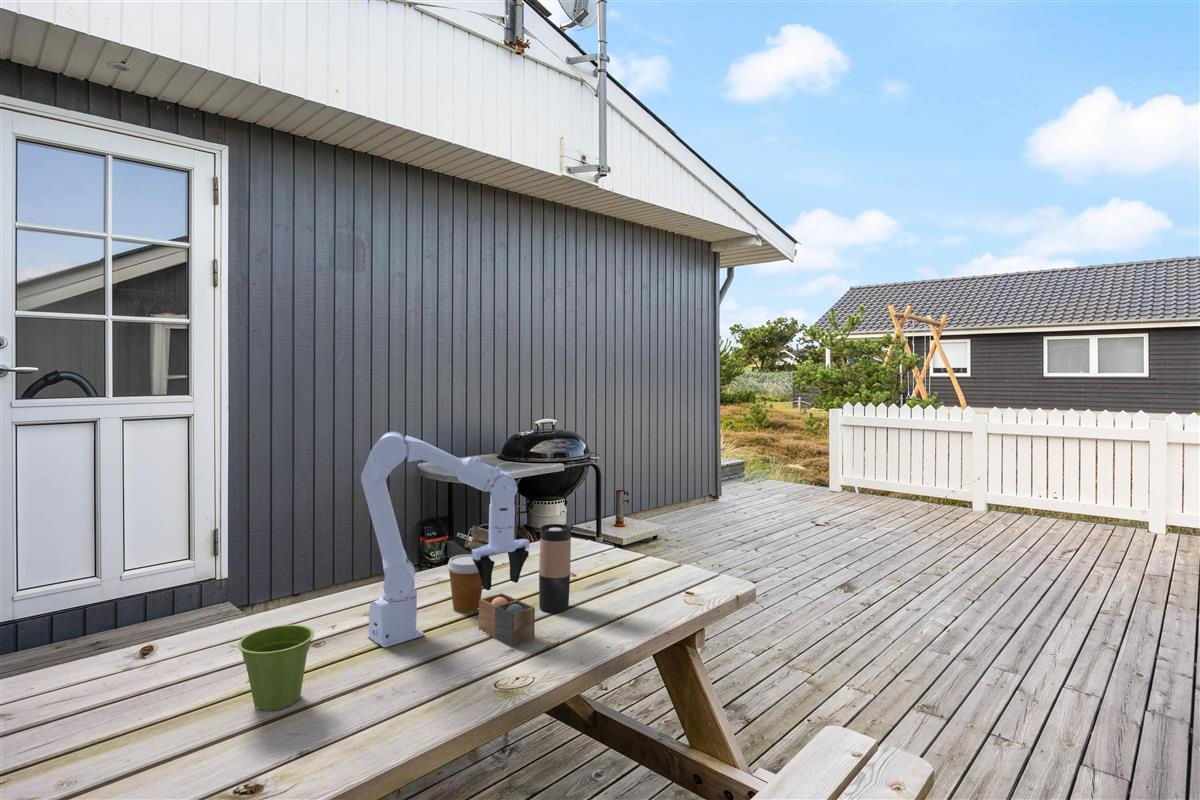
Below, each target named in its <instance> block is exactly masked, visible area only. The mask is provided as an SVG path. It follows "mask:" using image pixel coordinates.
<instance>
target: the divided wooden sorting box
mask: <svg viewBox="0 0 1200 800" xmlns="http://www.w3.org/2000/svg"><path fill="white" fill-rule="evenodd" d="M497 597H503V598H505V599H506V600H507V602H508V603H505V604H501V605H498V606H495V605H493V604H491V602H492V601H493V600H494V599H495V598H497ZM512 604H518V605H520V606H521V607H522V608H523V610H522V611H518V612H515V613H511V612H508V611H506V610H507V608H508V607H509V606H510V605H512ZM535 612H536V607H535V606H533V605H530V604H527V603H525V602H524V601H521V600H518V599H516V598H515V597H512V596H509V595H507V594H505V593H497V594H493V595H489V596H487V597H483V598H481V599H479V609H478V631H479V630H482V631H483V632H485V633H487V634H489V635H491V636H492V637H491V636H490V637H491V638H493V637H494V638H495V640H496V639H497V641H498V642H500V641H501V642H500V643H502V644H504V645H507V646H509V647H510V648H513V646H514V647H516V646H519V645H521V643H522V644H525V643H527V642H530V641H533V640H534V639H535V623H536V621H535V617H536V613H535ZM483 632H482V633H483ZM485 633H484V634H485ZM487 634H486V635H487ZM489 635H488V636H489ZM494 638H493V639H494ZM524 642H525V643H524Z"/></svg>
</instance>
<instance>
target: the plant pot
mask: <svg viewBox="0 0 1200 800" xmlns="http://www.w3.org/2000/svg"><path fill="white" fill-rule="evenodd" d="M314 636H315V631H314V630H313V629H312V628H311V627H309V626H306V625H303V624H302V625H301V624H282V625H273V626H270V627H266V628H261V629H258V630H255V631H253V632H250V633H249V634H247V635H245V636H243V637H242V638H241V639H240V640H239V641H238V642H237V648H238V650H240V651H241V654H242V659H243V662H245V666H246V671H247V675H248V681H249V686H250V690H251V691H250V692H251V695H252V696H251V697H252V700H253V705H255V706H254V707H255V708H256V707H257V708H260V709H261V710H263V711H265V710H274V711H277V709H278V710H282V709H281V708H283V709H285V708H284V707H286V706H288V705H290V704H291V703H292V704H294V702H295V703H296V702H297V701H296V700H298V699H300V698H301V695H302V694H301V693H302V688H303V682H304V674H305V667H306V663H307V656H308V652H309V651H310V645H311V641H312V639H313V638H314ZM299 697H300V698H299ZM298 701H299V700H298ZM292 704H291V705H292ZM291 705H290V706H291ZM288 707H289V706H288ZM257 708H256V709H257ZM286 708H287V707H286Z"/></svg>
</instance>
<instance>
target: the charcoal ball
mask: <svg viewBox="0 0 1200 800" xmlns="http://www.w3.org/2000/svg"><path fill="white" fill-rule="evenodd" d="M522 610H523V608H522V607H521V606H520V605H518V604H512V605H510V606H509V607H508V608H507V610H506V611H508V612H511V613H515V612H518V611H522Z"/></svg>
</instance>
